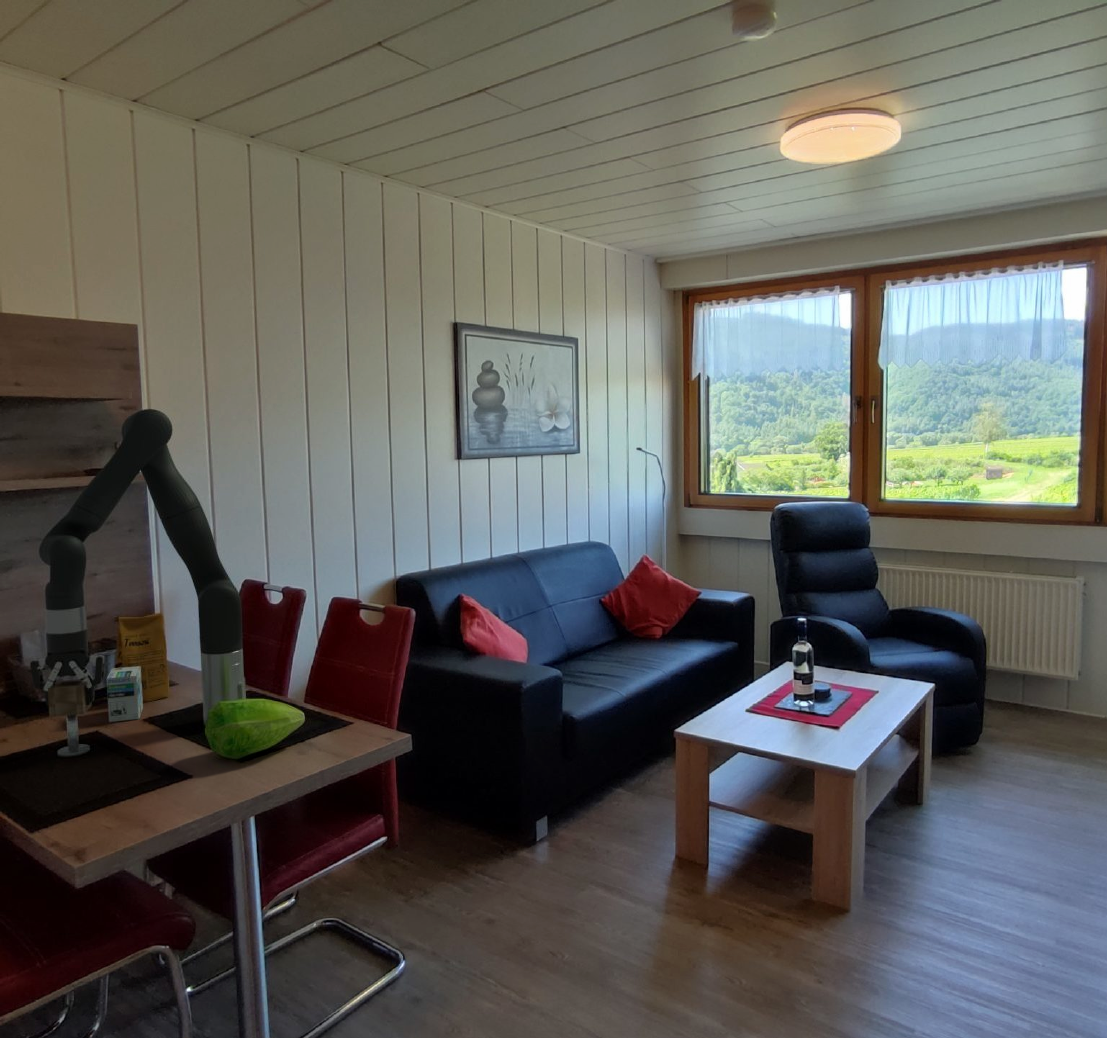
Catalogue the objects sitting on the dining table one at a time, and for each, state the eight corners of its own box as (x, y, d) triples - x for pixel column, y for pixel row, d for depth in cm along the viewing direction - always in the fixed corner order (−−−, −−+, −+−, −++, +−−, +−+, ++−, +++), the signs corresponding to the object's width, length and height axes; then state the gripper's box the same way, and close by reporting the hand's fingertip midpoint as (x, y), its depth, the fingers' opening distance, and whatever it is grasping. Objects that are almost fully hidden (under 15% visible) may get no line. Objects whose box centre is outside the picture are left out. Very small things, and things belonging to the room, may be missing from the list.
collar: (91, 705, 181) (90, 678, 181) (83, 714, 175) (82, 686, 175) (59, 707, 180) (57, 680, 179) (49, 717, 174) (47, 688, 173)
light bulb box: (139, 719, 200) (137, 675, 199) (108, 723, 197) (105, 678, 196) (143, 707, 210) (141, 665, 209) (113, 710, 207) (111, 667, 206)
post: (93, 745, 182) (90, 707, 181) (85, 755, 176) (83, 715, 175) (62, 748, 180) (60, 709, 179) (53, 758, 174) (51, 718, 174)
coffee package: (114, 697, 218) (109, 614, 216) (165, 689, 225) (161, 609, 223) (118, 707, 210) (113, 621, 208) (172, 698, 216) (167, 615, 215)
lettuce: (312, 753, 175) (310, 698, 174) (210, 772, 166) (207, 713, 165) (298, 734, 187) (296, 682, 186) (202, 751, 178) (199, 696, 177)
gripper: (108, 622, 182) (112, 697, 183) (34, 626, 178) (38, 703, 179) (99, 629, 174) (103, 707, 176) (21, 634, 171) (26, 713, 172)
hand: (70, 705), depth 177 cm, fingers closed on collar, 6 cm apart
